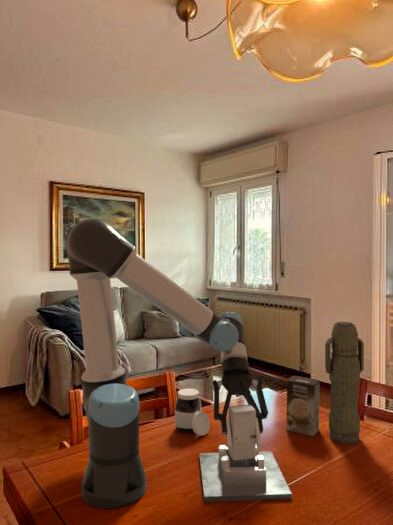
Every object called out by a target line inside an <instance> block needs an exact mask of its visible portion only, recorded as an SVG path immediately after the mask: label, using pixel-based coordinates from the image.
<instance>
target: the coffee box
mask: <svg viewBox="0 0 393 525" xmlns="http://www.w3.org/2000/svg"><path fill="white" fill-rule="evenodd" d="M320 390H321V389H320V380H319V379H315V378H310V377H309V378H308V377H304V376H297V375H292V376H290V377H289V378H288V379H287V380H286V428H285V429H286V430H287V431H290V432H295V433H298V434H302V435H307V436H310V437H315V435H316V434H317V433H318V431H319V429H320V427H319V426H320Z"/></svg>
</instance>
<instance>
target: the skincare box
mask: <svg viewBox="0 0 393 525" xmlns="http://www.w3.org/2000/svg"><path fill="white" fill-rule="evenodd" d="M228 419H229V420H230V431H231V441H232V447H231V449H228V452H229V454H230V456H231V458H232V459H233V460H244V459H253V458H255V457H256V410H255V409H254V408H253V407H252V406H251V405H248V404H237V405H229V409H228Z"/></svg>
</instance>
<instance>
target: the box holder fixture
mask: <svg viewBox="0 0 393 525" xmlns="http://www.w3.org/2000/svg"><path fill="white" fill-rule="evenodd" d="M198 454H199V455H198V457H199V458H198V460H199V467H200V474H201V475H200V476H201V486H202V495H203V501H204V502H205V503H208V502H209V503H212V502H238V501H239V502H240V501H241V502H243V501H244V502H245V501H270V500H271V501H272V500H273V501H274V500H292V499H293V495H292V494H293V493H292V490H290V487H289V486H288V483H287V481H286V479H285V477H284V475H283V473H282V471H281V469H280V467H279V464H278V462H277V461H276V458H275V457H274V454H273V451H260V449H257V446H256V457H255V458H253V459H244V460H233V459H232V458H231V456H230V454H229V452H228V446H226V444H219V446H218V452H202V453H201V452H200V453H198Z"/></svg>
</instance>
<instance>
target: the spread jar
mask: <svg viewBox="0 0 393 525" xmlns="http://www.w3.org/2000/svg"><path fill="white" fill-rule="evenodd" d="M210 422H211V421H210V419H209V416H208V415H207V413H206V412H204V411H202V400H201V398H200V392H199V390H197V389H195V388H183V389H179V390H178V391H177V399H176V402H175V406H174V425H175V428H176V429H177V430H178V431H180V432H183V433H193V432H194V434H196V435H197V436H200V437H202V436H206V435H207V434H208V432H209V431H210V426H211V423H210Z"/></svg>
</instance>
